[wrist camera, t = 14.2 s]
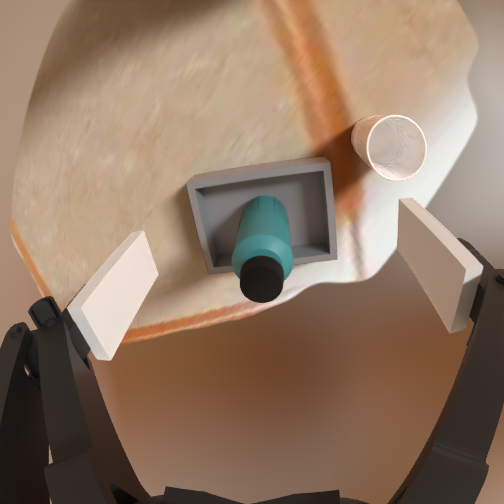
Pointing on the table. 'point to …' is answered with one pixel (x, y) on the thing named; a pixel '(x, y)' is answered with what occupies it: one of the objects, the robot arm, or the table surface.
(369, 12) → the table surface
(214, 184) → the trough tray
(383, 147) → the white cup
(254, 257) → the beverage bottle
